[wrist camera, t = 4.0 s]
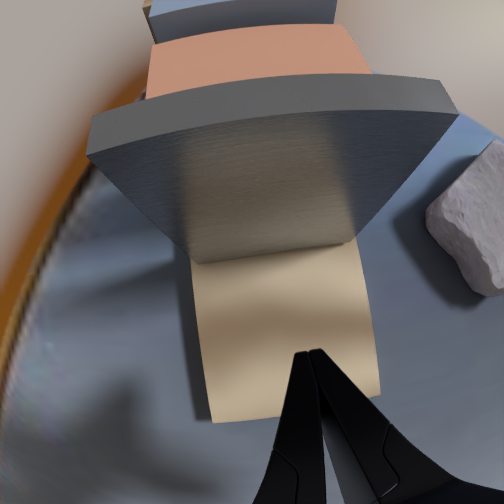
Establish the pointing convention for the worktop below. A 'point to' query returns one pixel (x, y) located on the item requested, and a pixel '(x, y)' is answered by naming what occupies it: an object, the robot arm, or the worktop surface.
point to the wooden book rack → (279, 322)
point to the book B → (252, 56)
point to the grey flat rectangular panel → (270, 158)
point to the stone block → (474, 221)
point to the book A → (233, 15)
